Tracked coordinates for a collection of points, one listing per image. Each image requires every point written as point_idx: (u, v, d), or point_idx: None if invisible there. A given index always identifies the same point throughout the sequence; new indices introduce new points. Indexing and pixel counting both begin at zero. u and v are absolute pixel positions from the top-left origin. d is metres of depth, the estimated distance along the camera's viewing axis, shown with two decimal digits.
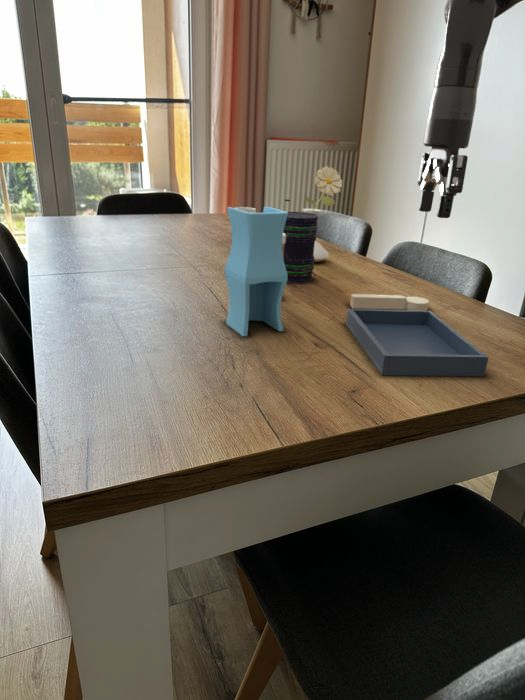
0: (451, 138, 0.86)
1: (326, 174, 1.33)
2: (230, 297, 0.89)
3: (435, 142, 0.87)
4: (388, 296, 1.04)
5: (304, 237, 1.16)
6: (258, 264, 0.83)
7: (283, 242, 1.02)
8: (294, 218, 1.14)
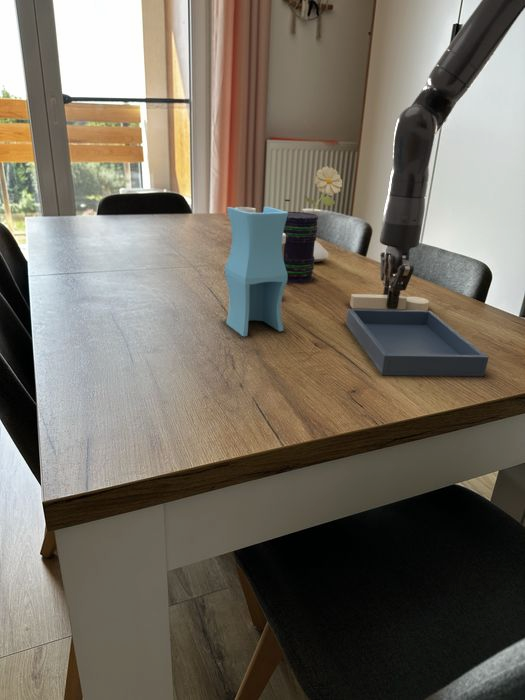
0: (402, 240, 0.97)
1: (326, 174, 1.33)
2: (230, 297, 0.89)
3: (388, 242, 0.98)
4: None
5: (304, 237, 1.16)
6: (258, 264, 0.83)
7: (283, 242, 1.02)
8: (294, 218, 1.14)
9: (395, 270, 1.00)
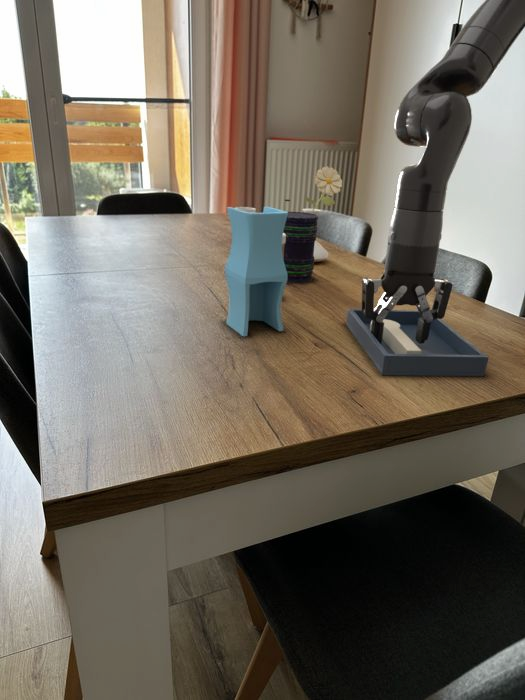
0: None
1: (326, 174, 1.33)
2: (230, 297, 0.89)
3: (432, 270, 0.76)
4: (398, 332, 0.83)
5: (304, 237, 1.16)
6: (258, 264, 0.83)
7: (283, 242, 1.02)
8: (294, 218, 1.14)
9: None
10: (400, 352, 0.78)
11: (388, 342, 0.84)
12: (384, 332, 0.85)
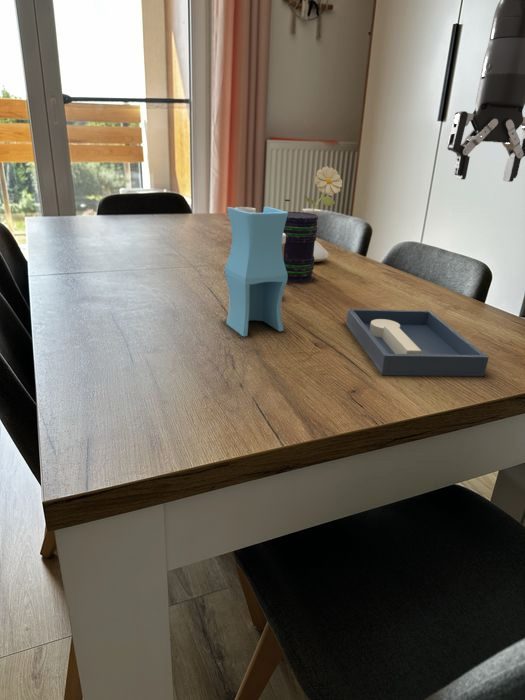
0: None
1: (326, 174, 1.33)
2: (230, 297, 0.89)
3: (523, 101, 0.81)
4: (398, 332, 0.83)
5: (304, 237, 1.16)
6: (258, 264, 0.83)
7: (283, 242, 1.02)
8: (294, 218, 1.14)
9: None
10: (400, 352, 0.78)
11: (388, 342, 0.84)
12: (384, 332, 0.85)
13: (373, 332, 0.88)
